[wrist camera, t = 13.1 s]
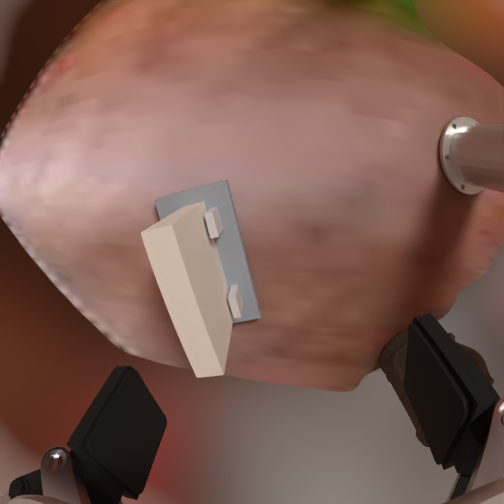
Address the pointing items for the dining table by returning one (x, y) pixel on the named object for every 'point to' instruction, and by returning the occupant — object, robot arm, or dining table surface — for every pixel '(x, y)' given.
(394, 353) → the beer stein
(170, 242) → the cabinet door
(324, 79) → the dining table surface
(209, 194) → the hinge plate
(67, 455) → the robot arm
